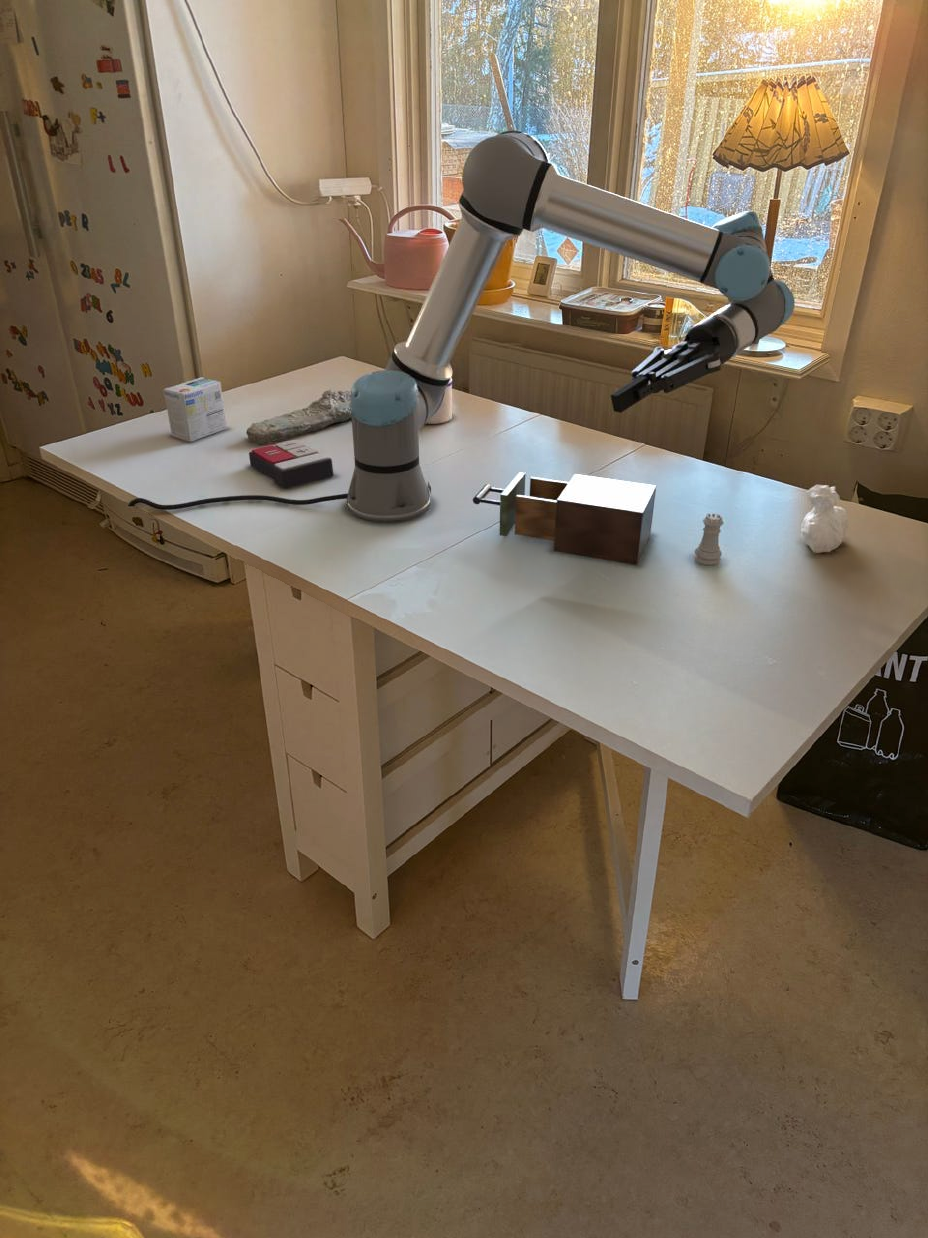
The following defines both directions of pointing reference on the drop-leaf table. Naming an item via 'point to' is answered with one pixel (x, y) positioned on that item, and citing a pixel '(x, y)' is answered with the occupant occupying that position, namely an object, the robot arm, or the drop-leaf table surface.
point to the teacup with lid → (444, 407)
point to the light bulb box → (195, 409)
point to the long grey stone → (303, 418)
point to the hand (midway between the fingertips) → (615, 403)
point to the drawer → (526, 506)
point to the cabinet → (604, 518)
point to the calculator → (291, 463)
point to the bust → (824, 520)
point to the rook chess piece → (709, 541)
